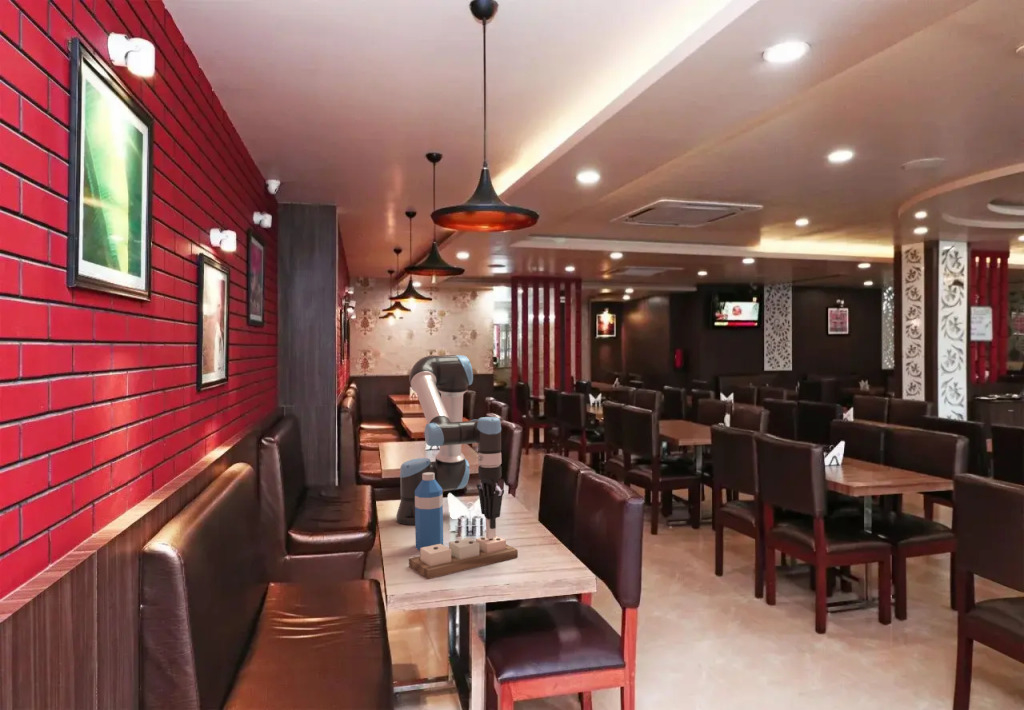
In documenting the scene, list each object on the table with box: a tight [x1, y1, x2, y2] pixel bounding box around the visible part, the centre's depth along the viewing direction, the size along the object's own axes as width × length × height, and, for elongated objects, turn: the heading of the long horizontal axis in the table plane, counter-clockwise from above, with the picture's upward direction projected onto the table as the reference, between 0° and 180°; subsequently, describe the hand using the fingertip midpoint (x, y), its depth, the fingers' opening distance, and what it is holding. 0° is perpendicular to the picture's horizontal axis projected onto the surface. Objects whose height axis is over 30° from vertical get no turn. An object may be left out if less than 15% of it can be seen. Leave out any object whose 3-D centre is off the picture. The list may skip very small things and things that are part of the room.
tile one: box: [419, 544, 451, 567], centre depth 201 cm, size 7×7×4 cm
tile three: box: [475, 535, 507, 553], centre depth 212 cm, size 7×7×4 cm
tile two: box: [448, 537, 479, 560], centre depth 207 cm, size 7×7×4 cm
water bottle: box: [414, 472, 444, 551], centre depth 222 cm, size 9×9×25 cm
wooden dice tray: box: [408, 544, 519, 580], centre depth 207 cm, size 13×32×2 cm, turn 124°
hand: (490, 537), depth 212 cm, fingers closed
